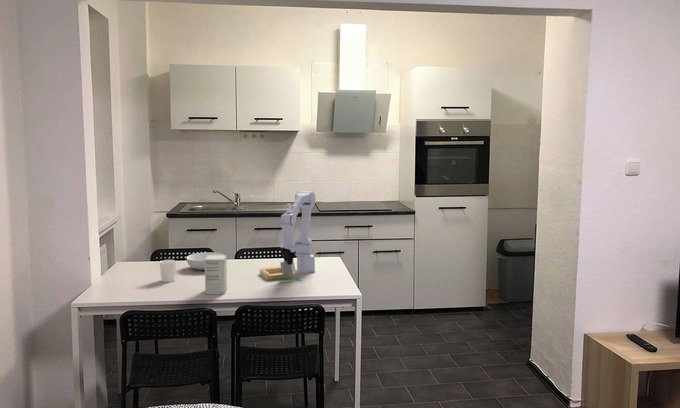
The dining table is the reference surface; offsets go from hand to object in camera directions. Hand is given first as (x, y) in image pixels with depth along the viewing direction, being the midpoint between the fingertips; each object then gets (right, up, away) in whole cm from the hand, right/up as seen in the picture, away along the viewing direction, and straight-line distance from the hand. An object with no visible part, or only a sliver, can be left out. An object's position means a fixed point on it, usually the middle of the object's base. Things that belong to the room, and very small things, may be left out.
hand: (288, 263), depth 287 cm
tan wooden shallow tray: (-7, -8, +10) cm, 15 cm away
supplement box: (-33, -12, -19) cm, 39 cm away
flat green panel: (0, -9, +1) cm, 9 cm away
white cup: (-62, -9, +1) cm, 62 cm away
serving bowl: (-49, -6, +28) cm, 57 cm away
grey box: (0, -5, +1) cm, 5 cm away
